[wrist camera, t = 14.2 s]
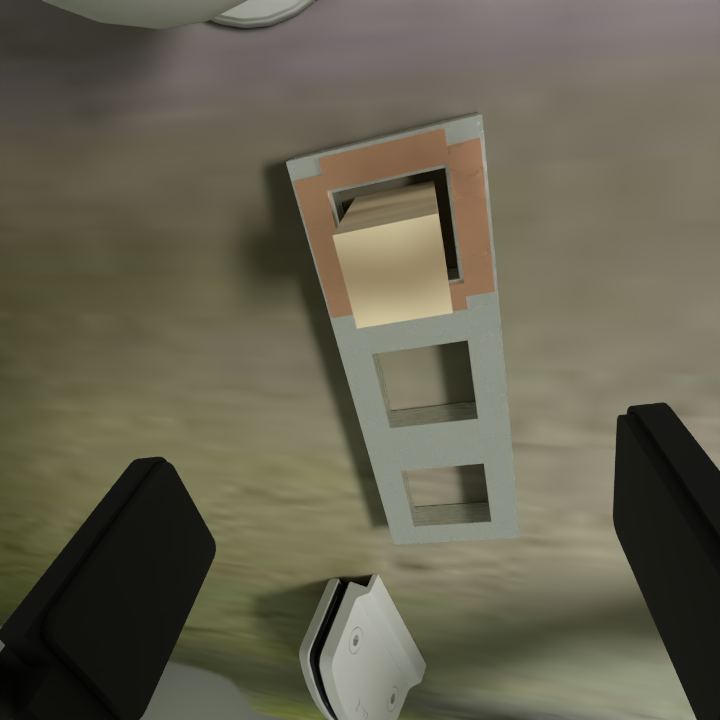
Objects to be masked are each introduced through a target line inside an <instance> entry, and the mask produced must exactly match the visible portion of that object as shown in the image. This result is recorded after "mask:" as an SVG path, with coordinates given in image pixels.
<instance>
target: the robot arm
mask: <svg viewBox="0 0 720 720" xmlns="http://www.w3.org/2000/svg"><path fill="white" fill-rule="evenodd" d="M613 521H614V527H615V530H616V534H617V536H618V539H619V541H620V543H621V546H622V548H623V550H624V553H625V555H626V557H627V559H628V562H629V564H630V566H631V569H632V571H633V573H634V576H635V578H636V580H637V583H638V585H639V587H640V590H641V592H642V594H643V596H644V599H645V601H646V603H647V606H648V608H649V610H650V613H651V615H652V617H653V620H654V622H655V624H656V626H657V629H658V631H659V633H660V636H661V638H662V640H663V643H664V645H665V647H666V650H667V652H668V654H669V656H670V659H671V661H672V663H673V666H674V668H675V670H676V673H677V675H678V677H679V680H680V682H681V684H682V687H683V689H684V691H685V693H686V696H687V698H688V700H689V703H690V705H691V707H692V710H693V712H694V714H695V717H696V719H697V720H720V471H719V470H718V468H717V467H716V466H715V464H714V463H713V462H712V461H711V459H710V458H709V457H708V455H707V454H706V453H705V451H704V450H703V449H702V448H701V446H700V445H699V444H698V442H697V441H696V440H695V439H694V437H693V436H692V435H691V433H690V432H689V431H688V430H687V428H686V427H685V426H684V424H683V423H682V422H681V421H680V419H679V418H678V417H677V415H676V414H675V413H674V411H673V410H672V409H671V408H670V406H668V405H667V404H666V403H654V404H645V405H636V406H630V407H629V408H628V410H627V414H626V415H619V416H618V418H617V432H616V456H615V480H614V503H613ZM215 552H216V544H215V541H214V538H213V537H212V535H211V533H210V531H209V529H208V528H207V526H206V524H205V522H204V520H203V519H202V517H201V515H200V513H199V511H198V510H197V508H196V506H195V504H194V502H193V501H192V499H191V497H190V495H189V493H188V491H187V490H186V488H185V486H184V484H183V482H182V481H181V479H180V477H179V475H178V473H177V472H176V470H175V468H174V466H173V465H172V464H171V463H169V462H167V461H166V460H165V459H164V458H163V457H151V458H141V459H136V460H134V461H133V462H132V463H131V464H130V465H129V466H128V467H127V469H126V470H125V471H124V472H123V474H122V475H121V476H120V478H119V479H118V480H117V481H116V483H115V484H114V485H113V486H112V488H111V489H110V490H109V492H108V493H107V494H106V495H105V497H104V498H103V499H102V501H101V502H100V503H99V504H98V506H97V507H96V508H95V509H94V511H93V512H92V513H91V515H90V516H89V517H88V518H87V520H86V521H85V522H84V523H83V525H82V526H81V527H80V529H79V530H78V531H77V532H76V534H75V535H74V536H73V538H72V539H71V540H70V541H69V543H68V544H67V545H66V546H65V548H64V549H63V550H62V552H61V553H60V554H59V555H58V557H57V558H56V559H55V560H54V562H53V563H52V564H51V566H50V567H49V568H48V569H47V571H46V572H45V573H44V574H43V576H42V577H41V578H40V580H39V581H38V582H37V583H36V585H35V586H34V587H33V589H32V590H31V591H30V592H29V594H28V595H27V596H26V597H25V599H24V600H23V601H22V603H21V604H20V605H19V606H18V608H17V609H16V610H15V611H14V613H13V614H12V615H11V617H10V618H9V619H8V620H7V622H6V623H5V624H4V626H3V627H2V628H1V629H0V640H1V641H2V642H3V643H4V644H5V647H4V648H3V649H2V651H1V652H0V720H139V719H140V718H141V717H142V716H143V714H144V712H145V710H146V709H147V706H148V704H149V702H150V700H151V697H152V695H153V693H154V691H155V689H156V686H157V684H158V682H159V680H160V677H161V675H162V673H163V671H164V668H165V666H166V664H167V662H168V659H169V657H170V655H171V653H172V651H173V648H174V646H175V644H176V642H177V639H178V637H179V635H180V633H181V630H182V628H183V626H184V624H185V622H186V619H187V617H188V615H189V613H190V610H191V608H192V606H193V604H194V601H195V599H196V597H197V595H198V593H199V590H200V588H201V586H202V584H203V581H204V579H205V577H206V575H207V572H208V570H209V568H210V566H211V564H212V561H213V559H214V556H215Z"/></svg>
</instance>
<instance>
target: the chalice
mask: <svg viewBox="0 0 720 720" xmlns="http://www.w3.org/2000/svg"><path fill="white" fill-rule="evenodd" d="M42 1H44V2H46V3H49V4H51V5H54V6H56V7H59V8H62V9H65V10H67V11H70V12H73V13H75V14H78V15H81V16H83V17H86V18H89V19H91V20H94V21H97V22H100V23H107V24H117V25H127V26H136V27H145V28H153V29H167V28H172V27H178V26H183V25H189V24H195V23H200V22H206V21H208V20H211V21H213V22H216V23H218V24H223V25H228V26H234V27H240V28H255V27H264V26H273V25H275V24H277V23H280V22H282V21H285V20H287V19H290V18H292V17H295V16H297V15H299V14H300V13H301V12H303V11H304V10H305V9H306V8H308V7H309V6H310V5H312V4H313V3H314V2H315V1H317V0H42Z"/></svg>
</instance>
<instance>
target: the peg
mask: <svg viewBox="0 0 720 720" xmlns="http://www.w3.org/2000/svg"><path fill="white" fill-rule="evenodd" d="M333 239H334V243H335V247H336V251H337V255H338V258H339V262H340V266H341V270H342V274H343V277H344V281H345V285H346V289H347V293H348V296H349V300H350V304H351V308H352V312H353V316H354V319H355V323H356V327H357V329H358V328H364V327H370V326H376V325H382V324H388V323H395V322H401V321H407V320H413V319H419V318H425V317H431V316H438V315H444V314H450V313H453V310H452V303H451V295H450V288H449V281H448V274H447V267H446V260H445V253H444V246H443V240H442V233H441V226H440V220H439V213H438V206H437V199H436V193H435V186H434V180H431V181H427V182H422V183H418V184H413V185H409V186H404V187H400V188H395V189H391V190H387V191H382V192H378V193H373V194H369V195H364V196H360V197H355V199H354V201H353V202H352V204H351V206H350V207H349V209H348V211H347V212H346V214H345V216H344V217H343V219H342V221H341V222H340V224H339V226H338V227H337V229H336V230H335V232H334V234H333Z"/></svg>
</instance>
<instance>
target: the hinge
mask: <svg viewBox="0 0 720 720" xmlns="http://www.w3.org/2000/svg"><path fill="white" fill-rule="evenodd" d="M299 658H300V663H301V667H302V671H303V674H304V678H305V681H306V684H307V686H308V689H309V691H310V693H311V696H312V698H313V700H314V701H315V703H316V705H317V707H318V708H319V709H320V711H321V712H322V713H323V715H324V716H325V717H326V718H327V719H328V720H397V719H398V716H399V713H400V711H401V708H402V706H403V703H404V701H405V698H406V696H407V693H408V691H409V689H410V688H411V687H413V686H415V685H417V684H419V683H420V682H421V681H422V678H423V675H424V672H425V669H426V666H427V665H426V663H425V661H424V659H423V657H422V656H421V654H420V652H419V650H418V648H417V646H416V644H415V642H414V641H413V639H412V637H411V635H410V633H409V631H408V629H407V627H406V626H405V624H404V622H403V620H402V618H401V616H400V614H399V613H398V611H397V609H396V607H395V605H394V603H393V601H392V599H391V598H390V596H389V594H388V592H387V590H386V588H385V586H384V584H383V583H382V581H381V579H380V577H379V575H378V574H373V575H372V577H371V579H370V582H369V584H368V586H367V587H365V586H362V585H359V584H356V583H353V582H350V583H349V585H346V587H345V588H344V586H343V585H342V583H341V582H340V580H339V579H336V578H333V579H330V580H329V581H328V584H327V586H326V588H325V591H324V593H323V595H322V598H321V600H320V602H319V605H318V607H317V609H316V612H315V614H314V616H313V619H312V621H311V623H310V626H309V628H308V630H307V633H306V635H305V637H304V640H303V642H302V644H301V647H300V651H299Z"/></svg>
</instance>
